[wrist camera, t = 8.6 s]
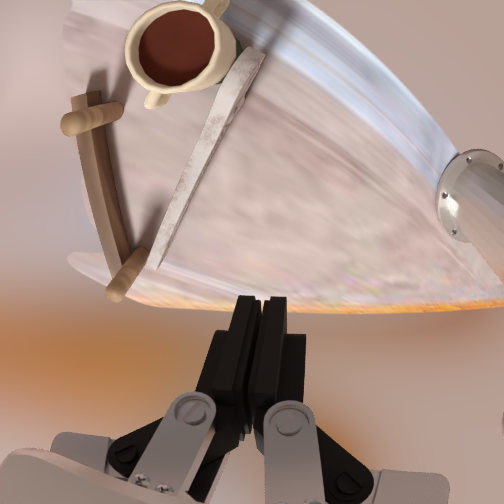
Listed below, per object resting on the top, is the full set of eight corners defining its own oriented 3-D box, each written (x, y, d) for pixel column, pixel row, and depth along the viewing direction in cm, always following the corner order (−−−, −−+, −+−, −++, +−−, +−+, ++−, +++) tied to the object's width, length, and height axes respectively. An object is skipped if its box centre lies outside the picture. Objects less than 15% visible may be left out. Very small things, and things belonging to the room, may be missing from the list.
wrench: (159, 244, 44) (257, 46, 26) (170, 249, 44) (273, 54, 26) (135, 280, 37) (241, 45, 19) (148, 287, 38) (262, 55, 20)
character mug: (214, 3, 24) (171, -35, 13) (271, 33, 25) (260, 2, 14) (162, 84, 29) (97, 93, 18) (215, 114, 31) (173, 135, 20)
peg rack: (120, 85, 29) (74, 92, 22) (153, 272, 43) (128, 314, 35) (85, 94, 30) (37, 105, 22) (122, 270, 43) (94, 309, 36)
